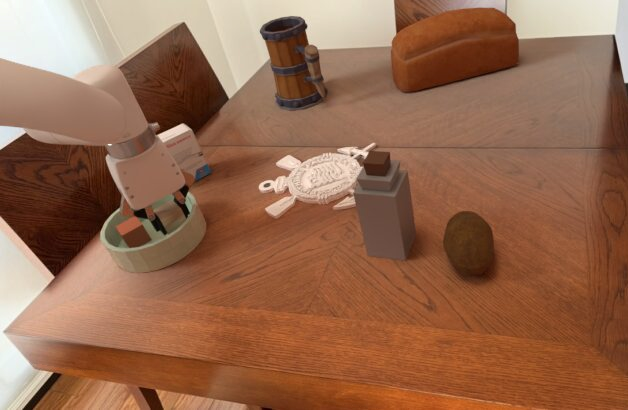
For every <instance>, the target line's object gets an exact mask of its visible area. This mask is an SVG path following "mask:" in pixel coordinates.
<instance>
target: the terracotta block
mask: <svg viewBox="0 0 628 410" xmlns="http://www.w3.org/2000/svg"><path fill="white" fill-rule="evenodd" d="M115 227H116V229H117V230H118V232H119V234H120V235H121V237H122V238H123V240H124V241H125V243H126V244H127V245H128V247H129V248H135V247H140V246H141V245H143V244H145V243H147V242H149V241H150V240H151V238H150V236H149V234H148V233H147V231H146V229H145V228H144V226H143V224H142V223H141V222H140V221H139V220H138V218H137V217H132V218H130V219H128V220H126V221H125V222H123V223H121V224H119V225H117V226H115Z"/></svg>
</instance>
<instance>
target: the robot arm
mask: <svg viewBox="0 0 628 410" xmlns="http://www.w3.org/2000/svg"><path fill="white" fill-rule="evenodd" d="M0 127H12V128H20V129H23V131H24V132H25V134H27V135H28V136H29V137H30V138H32V139H34V140H36V141H37V142H41V143H45V144H50V145H67V146H68V145H69V146H72V145H73V146H75V145H76V146H89V147H91V146H92V147H104V149H105V151H106V152H107V154H106V156H105V161H106V166H107V169H108V170H109V173H110V175H111V177H112V179H113V181H114V183H115V185H116V188H117V189H118V191H119V193H120V195H121V198H120V205H119V208H120V211H119V213H120V214H121V215H122V217H138V218H144V219H148V220H150V222H151V224H152V225H153V227H154V229H155V230H156V231H157V232H158V231H161V232H162V233H163V234H164V236H165V235H166V234H167V231H166V230H165V228H164V226H163V224H162V222H161V221H160V219H159V217H158V216H157V215H156V214H155V213H154V211H153V208H152V204H153V203H155V202H157V201H159V200H160V199H162V198H164V197H166V196H168V195H170V194H172V195H173V196H174V199H173V200H174V202H175V203H176V204H177V205H178V206H179V207H180V208H181V209H182V211H183V213H184V215H185V217H186V219H187V217H188V215H189V214H190V212H189V210H188V208H187V206H186V204H185V202H186V199H185V198H186V196H187V193H188V192H190V188H191V187H192V185H193V184H194V183H195V182H196V181H195V177H194V176H193V175H192V174H190V173H188V172H186V171H184V170H182V169H180V168H179V166H178V165H177V163H176V161H175V160H174V158H173V156H172V155H171V153H170V152H169V150H168V149H167V147H166V146H165V144H164V143H163V142H162V141H161V139H160V138H159V137H158V136H157V135H158V134H156V133H157V132H158V131H159V130H161V126H160V125H159V123H158V122H157V121H155V122H153V123H152V122H151V123H150V122H148V121H147V119H146V117H145V114H144V112H143V111H142V108H141V107H140V104H139V102H138V101H137V98H136V96H135V94H134V93H133V90H132V88H131V86H130V84H129V82H128V80H127V78H126V76H125V75H124V73H123V71H122V70H121V69H120V68H119V67H117V66H116V65H113V64H99V65H94V66H90V67H87V68H85V69H83V70H81V71H79V72H78V73H77V74H75V75H74V76H73V77H69V76H66V75H63V74H60V73H57V72H53V71H50V70H46V69H42V68H38V67H35V66H30V65H26V64H22V63H18V62H16V61H12V60H9V59H6V58H1V57H0ZM194 181H195V182H194ZM193 182H194V183H193ZM130 206H131V207H132V208H130Z"/></svg>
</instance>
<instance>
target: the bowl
mask: <svg viewBox="0 0 628 410" xmlns="http://www.w3.org/2000/svg"><path fill="white" fill-rule="evenodd" d="M173 199H174V196H173V195H172V194H170V195H168V196H166V197H164V198H162V199H160V200H159V201H157V202H155V203H153V204H152V208H153V210H154V209H156V208H158V207H159V206H161V205H163V204H165V203H167V202H169V201H171V200H173ZM185 199H186V202H185V204H186V206H187V208H188V210H189V212H190V214H189V215H188V217H187V219H186V221H185V222H184V223H183V224H182V225H181V226H180V227H178V228H177V229H176V230H175V231H173V232H172V233H171V234H169V235H168V234H166V235H165V236H164V234H163V233H162V232H161V231H158V232H157V231H156V230H155V229H154V227H153V225H152V224H151V222H150V220H148V219H144V218H138V217H137V218H138V220H139V221H140V222H141V223H142V224H143V226H144V228H145V229H146V231H147V233H148V234H149V236H150V238H151V240H150V241H149V242H147V243H145V244H143V245H141V246H140V247H135V248H129V247H128V245H127V244H126V243H125V241H124V240H123V238H122V237H121V235H120V234H119V232H118V230H117V229H116V227H115V226H117V225H119V224H121V223H123V222H125V221H126V220H128V219H130V218H132V217H122V215H121V214H120V213H119V211H120V207H119V208H117V209H116V210H115V211H114V212H113V213H112V214H110V216H109V217H108V218H107V219H106V220H105V222H104V224H103V225H102V228H101V230H100V233H99V234H100V238H99V239H100V242H101V243H102V245H103V246H104V248H105V249H106V250H107V252H108V254H109V255H110V257H111V258H112V259H113V261H114V262H115V264H116V265H117V267H118V268H120V269H121V270H123V271H125V272H128V273H135V274H143V273H149V272H155V271H158V270H161V269H164V268H167V267H170V266H172V265H174V264H175V263H177V262H179V261H181V260H182V259H184V258H185V257H187V256H188V255H189V254H190V253H192V252H193V251H194V250H195V249H196V248H197V247H198V246H199V245H200V243H201V242H202V241H203V239H204V237H205V234H206V232H207V226H208V225H207V224H208V223H207V221H206V218H205V215H204V213H203V211H202V209H201V207H200V205H199V203H198V201H197V199H196V197H195V196H194V194H192V192H190V191H188V193H187V196H186V198H185ZM173 201H174V200H173ZM130 208H132V207H131V206H130Z"/></svg>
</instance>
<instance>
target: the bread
mask: <svg viewBox="0 0 628 410" xmlns="http://www.w3.org/2000/svg"><path fill="white" fill-rule="evenodd" d="M519 59H520V41H519V37H518V33H517V24H516V22H515V21H513V19H511V17H509V16H508V15H507V14H506V13H504V12H503V11H502V10H500V9H498V8H496V7H470V8H457V9H453V10H445V11H444V12H441V13H437V14H434V15H431V16H429V17H426V18H423V19H421V20H419V21H416V22H414V23H412V24H410V25H408V26H406V27H404V28H402V29H401V30H400V31H398V32H397V33H396V34H395V35H394V37H393V38H392V41H391V49H390V63H391V72H392V73H391V74H392V79H393V82H394V84H395V86H396V87H397V88H398V90H400V91H402V92H403V93H411V92H416V91H420V90H425V89H428V88H432V87H437V86H441V85H445V84H448V83H453V82H457V81H460V80H465V79H468V78H472V77H477V76H481V75H484V74H489V73H492V72H496V71H499V70H504V69H508V68H511V67H515V66H517V65H518V63H519V61H520V60H519Z"/></svg>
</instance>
